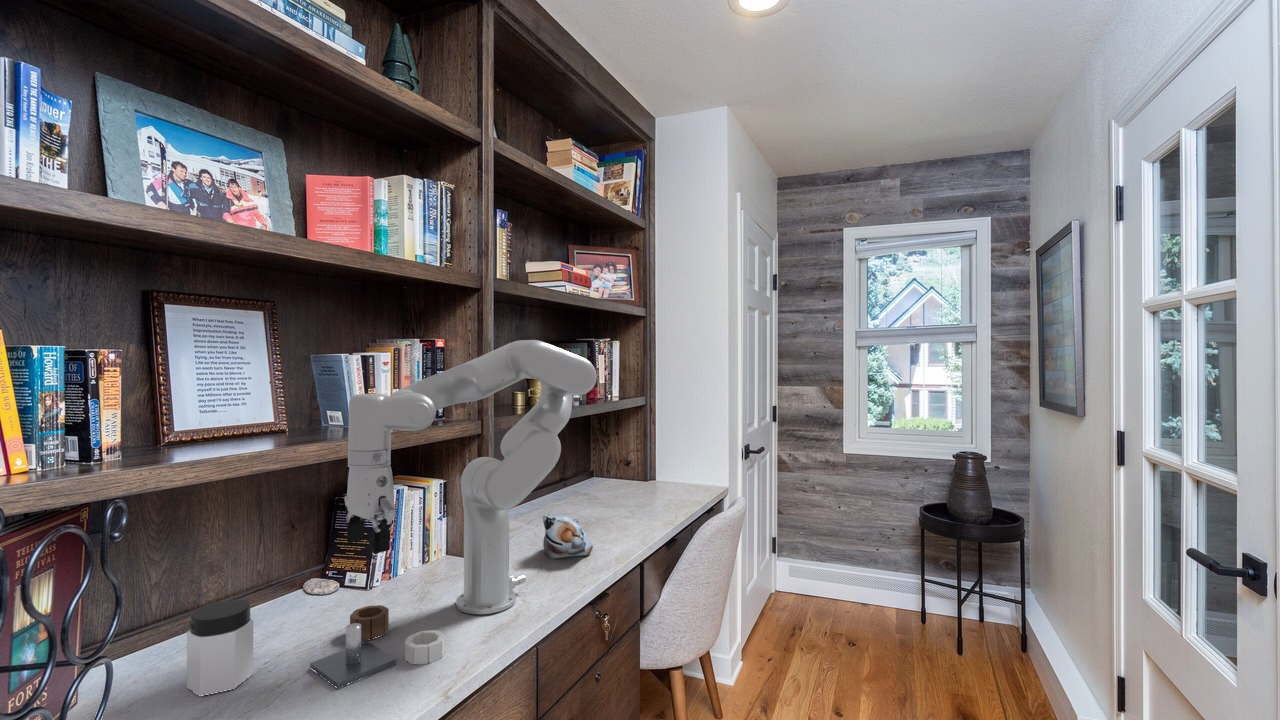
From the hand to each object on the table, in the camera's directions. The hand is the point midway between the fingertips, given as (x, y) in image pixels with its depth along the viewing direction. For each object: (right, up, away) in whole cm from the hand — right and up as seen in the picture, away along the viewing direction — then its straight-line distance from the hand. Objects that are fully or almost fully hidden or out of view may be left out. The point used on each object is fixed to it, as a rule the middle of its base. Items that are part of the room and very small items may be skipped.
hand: (368, 546), depth 115 cm
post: (+3, -17, -12) cm, 21 cm away
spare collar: (+14, -17, -8) cm, 23 cm away
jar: (-16, -17, -17) cm, 29 cm away
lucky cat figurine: (+33, -17, +46) cm, 59 cm away
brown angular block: (0, -17, 0) cm, 17 cm away
